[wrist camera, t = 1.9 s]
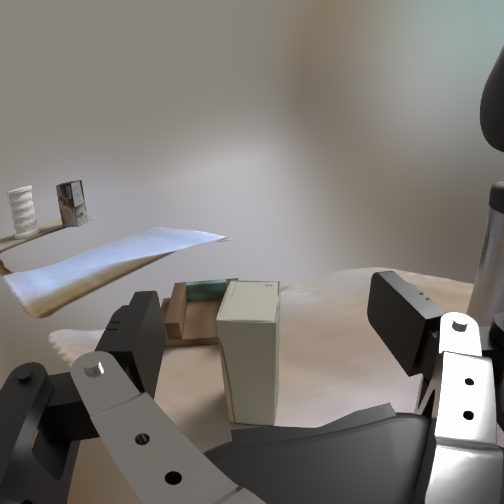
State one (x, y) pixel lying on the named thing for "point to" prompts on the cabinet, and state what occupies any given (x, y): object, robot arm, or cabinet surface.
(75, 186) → the coffee box
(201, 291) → the rack
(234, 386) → the skincare box
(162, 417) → the robot arm
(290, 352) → the cabinet surface
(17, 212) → the decorative container
